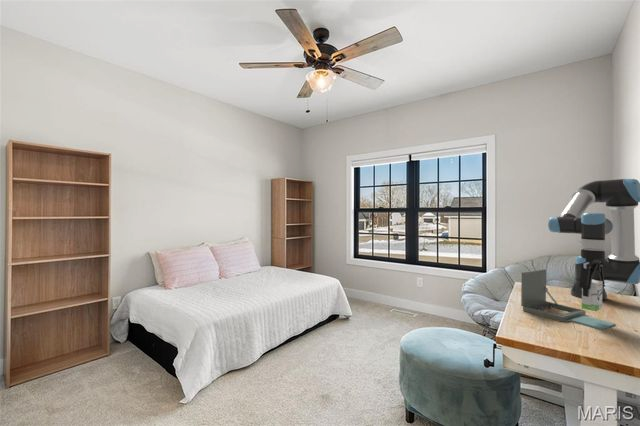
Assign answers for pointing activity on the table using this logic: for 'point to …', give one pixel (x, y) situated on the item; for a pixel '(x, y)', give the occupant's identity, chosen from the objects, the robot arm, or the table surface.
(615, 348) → the table surface
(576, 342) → the table surface
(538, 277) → the case
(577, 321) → the mat
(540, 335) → the table surface
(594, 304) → the ink box
